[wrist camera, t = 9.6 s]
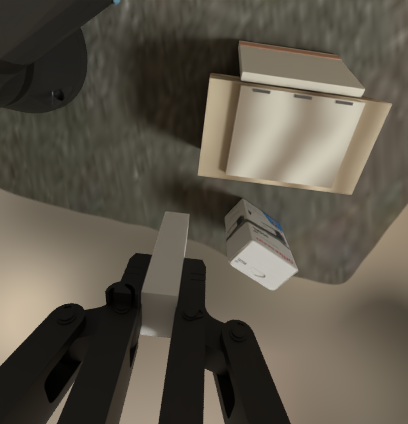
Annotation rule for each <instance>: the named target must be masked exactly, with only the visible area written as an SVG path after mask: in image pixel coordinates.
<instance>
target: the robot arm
mask: <svg viewBox="0 0 408 424" xmlns="http://www.w3.org/2000/svg"><path fill="white" fill-rule="evenodd" d="M119 2H120V0H0V107H2V108H7V109H11V110H16V111H20V112H25V113H45V112H49V111H52V110H55V109H58V108H61V107H63V106H65V105H67V104H68V103H70V102H71V101H72V100H73V99H74V98H75V97H76V96H77V94H78V93H79V91H80V90H81V88H82V86H83V83H84V80H85V77H86V72H87V50H86V44H85V40H84V37H83V33H82V31H81V28H80V27H81V26H83V25H84V24H85V23H87V22H88V21H89V20H91V19H92V18H93V17H95V16H96V15H97V14H99V13H100V12H101V11H103V10H104V9H105V8H106V7H108V6H109V5H110V4H112V3H113V5H114V6H116V5H117V4H118V3H119ZM189 215H190V214H185V213H176V212H168V211H165V214H164V217H163V221H162V224H161V227H160V231H159V234H158V238H157V241H156V244H155V248H154V251H153V254H152V255H149V254H140V253H136V254H135V255H133V256H132V257H131V258H130V259H129V262H128V264H127V268H126V269H125V273H124V274H123V277H122V279H121V281H120V282H116V283H113V284H112V285H110V286H109V287H108V288H107V290H106V291H105V294H106V305H104V306H102V307H98V308H94V309H88V310H84V309H83V307H82V306H80V305H78V304H74V303H70V304H64V305H62V306H60V307H58V308H56V309H55V310H54V311H52V312H51V313H50V314H49V316H48V317H47V318H46V319H45V320H44V321H43V322H42V323H41V324H40V325H39V326H38V327H37V328H36V329H35V330H34V331H33V333H32V334H31V335H29V337H28V338H27V339H26V340H25V341H24V342H23V343H22V344H21V345H20V346H19V347H18V348H17V349H16V350H15V351H14V352H13V353H12V354H11V355H10V356H9V357H8V359H7V360H6V361H5V362H4V363H3V364H2V365H1V366H0V424H46V423H47V421H48V420H49V418H50V417H51V415H52V414H53V412H54V411H55V409H56V408H57V406H58V405H59V403H60V402H61V400H62V399H63V397H64V396H65V394H66V393H67V391H68V390H69V388H70V387H71V385H72V384H73V383H74V384H73V386H72V389H71V391H70V394H69V396H68V398H67V401H66V403H65V406H64V408H63V410H62V413H61V415H60V418H59V420H58V422H57V424H119V421H120V417H121V413H122V409H123V405H124V401H125V397H126V393H127V389H128V385H129V381H130V377H131V373H132V369H133V365H134V361H135V357H136V353H137V349H138V338H139V334H140V331H141V335H149V336H158V337H168V338H171V342H170V349H169V355H168V362H167V369H166V375H165V382H164V389H163V396H162V403H161V410H160V416H159V423H158V424H203V410H204V371H205V370H204V369H207V370H209V371H212V372H213V375H214V380H215V384H216V388H217V392H218V397H219V401H220V405H221V410H222V414H223V418H224V422H225V424H291V423H290V421H289V418H288V416H287V413H286V411H285V409H284V406H283V404H282V401H281V399H280V396H279V394H278V392H277V389H276V386H275V384H274V382H273V379H272V377H271V374H270V372H269V369H268V367H267V364H266V362H265V360H264V357H263V355H262V352H261V350H260V347H259V345H258V342H257V340H256V337H255V335H254V333H253V331H252V329H251V328H250V327H249V325H247V324H246V323H245V322H243V321H240V320H230V321H227V322H226V323H223V322H220V321H218V320H216V319H214V318H213V317H211V316H210V315H209V314H208V312H207V310H206V308H205V280H206V266H205V264H204V262H203V261H202V260H198V259H190V258H184V257H185V249H186V241H187V232H188V223H189ZM74 381H75V382H74Z"/></svg>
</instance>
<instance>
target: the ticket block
mask: <svg viewBox="0 0 408 424" xmlns="http://www.w3.org/2000/svg"><path fill="white" fill-rule="evenodd" d="M391 105H392V104H391V103H387V102H383V101H379V100H375V99H372V98H368V97H364V96H361V97H354V96H347V95H340V94H333V93H326V92H319V91H312V90H305V89H298V88H291V87H284V86H277V85H270V84H263V83H256V82H249V81H242V80H241V77H238V76H231V75H224V74H217V73H210V79H209V87H208V95H207V103H206V112H205V120H204V128H203V136H202V144H201V153H200V161H199V170H198V175H199V176H207V177H215V178H223V179H231V180H239V181H247V182H254V183H262V184H270V185H278V186H286V187H294V188H302V189H310V190H318V191H326V192H333V193H341V194H349V195H352V192H353V190H354V188H355V186H356V183H357V181H358V179H359V177H360V174H361V172H362V170H363V168H364V166H365V163H366V161H367V159H368V157H369V154H370V152H371V150H372V148H373V145H374V143H375V141H376V139H377V136H378V134H379V132H380V130H381V128H382V125H383V123H384V121H385V119H386V116H387V114H388V112H389V110H390V107H391Z"/></svg>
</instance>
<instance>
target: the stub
mask: <svg viewBox="0 0 408 424" xmlns="http://www.w3.org/2000/svg"><path fill="white" fill-rule="evenodd" d="M238 53H239V65H240V77H241V80H242V81H249V82H256V83H263V84H270V85H277V86H284V87H291V88H298V89H305V90H312V91H319V92H326V93H333V94H340V95H347V96H354V97H361V96H362V94H363V92H364V90H365V88H364V87H363V86H362V85H361V84H360V82H359V81H358V80H357V79H356V78H355V76H354V75H353V74H352V73H351V72H350V70H349V69H348V68H347V67H346V66H345V64H344V63H343V62H342V61H341V58H340V57H339V56H337V55H334V54H327V53H321V52H314V51H307V50H301V49H294V48H287V47H280V46H274V45H267V44H260V43H253V42H247V41H240V40H239V45H238Z"/></svg>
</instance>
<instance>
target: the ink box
mask: <svg viewBox="0 0 408 424" xmlns="http://www.w3.org/2000/svg"><path fill="white" fill-rule="evenodd" d="M225 229H226V243H227V256H228V262H229V263H230V264H231V266H233V267H234V268H236V269H238V270H239V271H241V272H242V273H244V274H246V275H247V276H249V277H250V278H252V279H253V280H255V281H257V282H259V283H260V284H261V285H263V286H264V287H266V288H268V289H269V290H276V289H277V288H279V287H280V286H281V285H282V284H284V283H285V282H286V281H287V280H288V279H290V278H291V277H292V276H293V275H294V274H296V273H297V272H298V269H297V266H296V264H295V261H294V259H293V256H292V254H291V251H290V249H289V246H288V244H287V241H286V239H285V236H284V234H283V231H282V229H281V226H280V224H279V223H278V222H276V221H275V220H273V219H272V218H270V217H269V216H267V215H266V214H265V213H263V212H262V211H260V210H259V209H257V208H256V207H255V206H253V205H252V204H250V203H249V202H247V201H246V200H244V199H243V198H242V199H241V200H240V201H239V202H238V203H237V204H236V205H235V206H234V207H233V208H232V209H231V211H230V212H229V213H228V214H227V215H226V216H225Z"/></svg>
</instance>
